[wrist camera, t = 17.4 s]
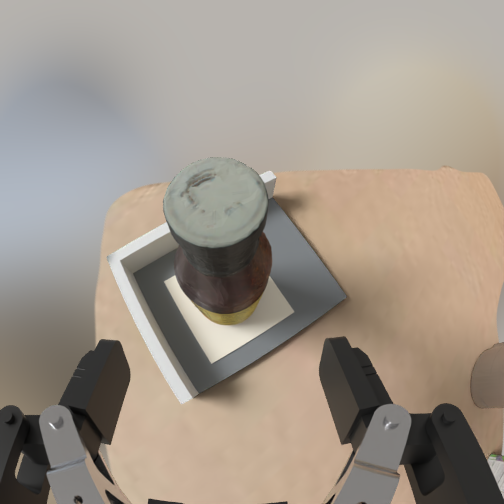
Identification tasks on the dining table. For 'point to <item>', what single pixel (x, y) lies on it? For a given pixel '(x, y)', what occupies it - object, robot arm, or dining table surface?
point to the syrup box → (497, 469)
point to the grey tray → (205, 331)
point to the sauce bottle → (220, 237)
